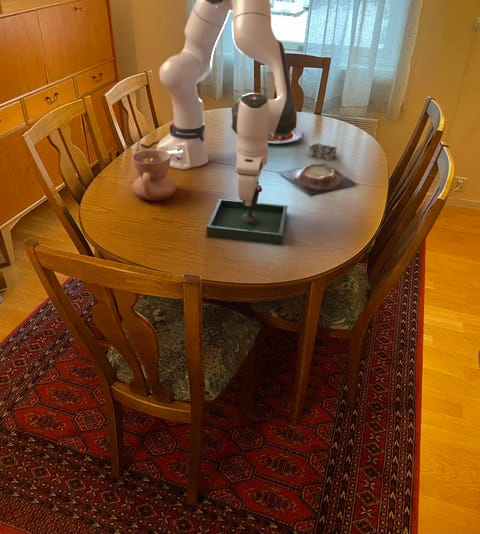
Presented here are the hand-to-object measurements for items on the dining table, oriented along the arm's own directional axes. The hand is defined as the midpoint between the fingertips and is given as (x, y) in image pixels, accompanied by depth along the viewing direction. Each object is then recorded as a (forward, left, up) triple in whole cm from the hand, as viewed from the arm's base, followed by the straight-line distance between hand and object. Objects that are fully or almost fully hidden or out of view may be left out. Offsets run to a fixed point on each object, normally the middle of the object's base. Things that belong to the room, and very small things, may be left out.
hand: (250, 200), depth 135 cm
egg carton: (+21, +61, -9) cm, 65 cm away
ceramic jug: (-34, +12, -9) cm, 37 cm away
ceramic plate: (-1, +77, -9) cm, 77 cm away
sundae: (0, 0, -6) cm, 6 cm away
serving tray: (0, 0, -8) cm, 9 cm away
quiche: (+20, +38, -9) cm, 44 cm away
